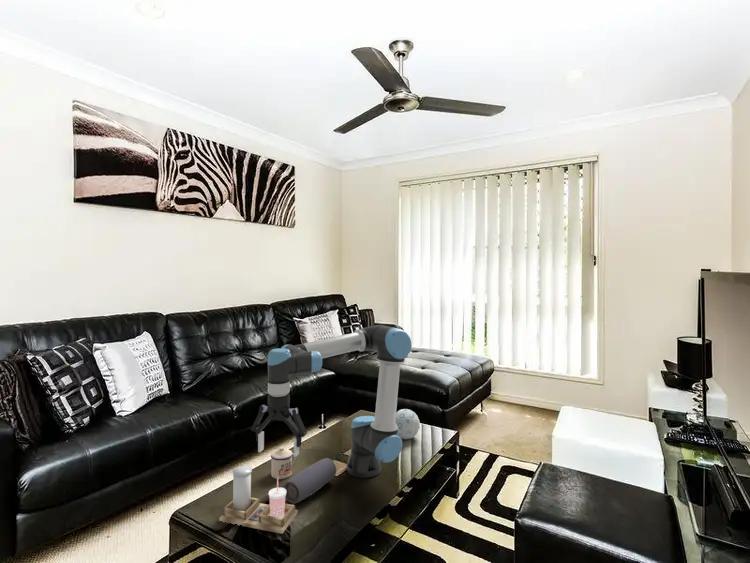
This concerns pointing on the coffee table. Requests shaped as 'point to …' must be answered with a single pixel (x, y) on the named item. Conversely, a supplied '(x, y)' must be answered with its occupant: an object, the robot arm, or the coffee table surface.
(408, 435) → the puzzle ball
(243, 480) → the grey tube
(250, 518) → the rack
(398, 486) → the coffee table surface
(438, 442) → the coffee table surface
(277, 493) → the beverage cup
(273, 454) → the teacup with lid
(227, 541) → the coffee table surface
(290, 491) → the bluetooth speaker
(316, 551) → the coffee table surface
